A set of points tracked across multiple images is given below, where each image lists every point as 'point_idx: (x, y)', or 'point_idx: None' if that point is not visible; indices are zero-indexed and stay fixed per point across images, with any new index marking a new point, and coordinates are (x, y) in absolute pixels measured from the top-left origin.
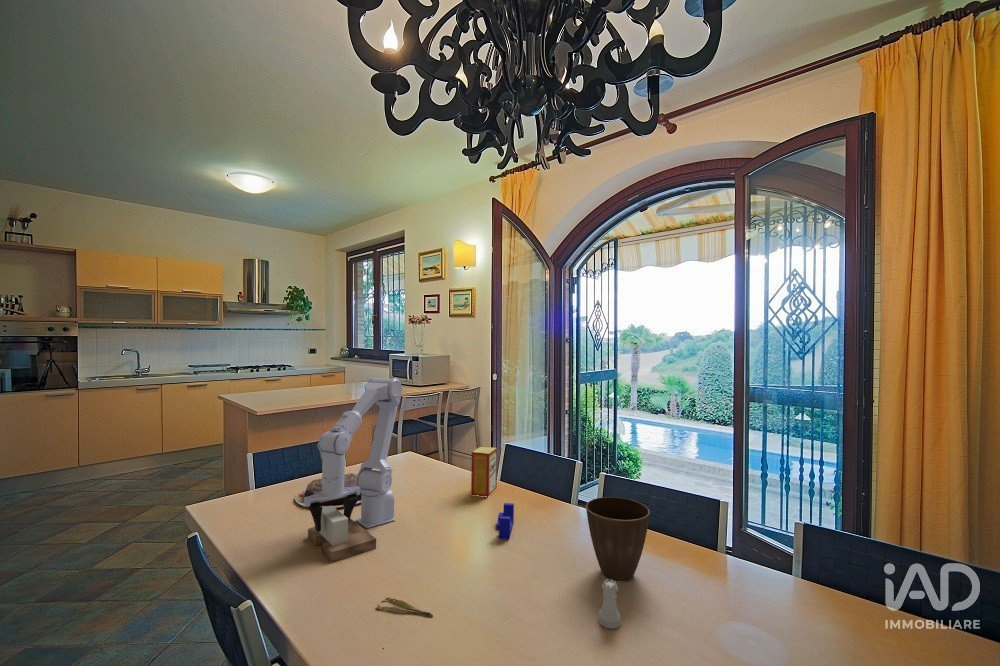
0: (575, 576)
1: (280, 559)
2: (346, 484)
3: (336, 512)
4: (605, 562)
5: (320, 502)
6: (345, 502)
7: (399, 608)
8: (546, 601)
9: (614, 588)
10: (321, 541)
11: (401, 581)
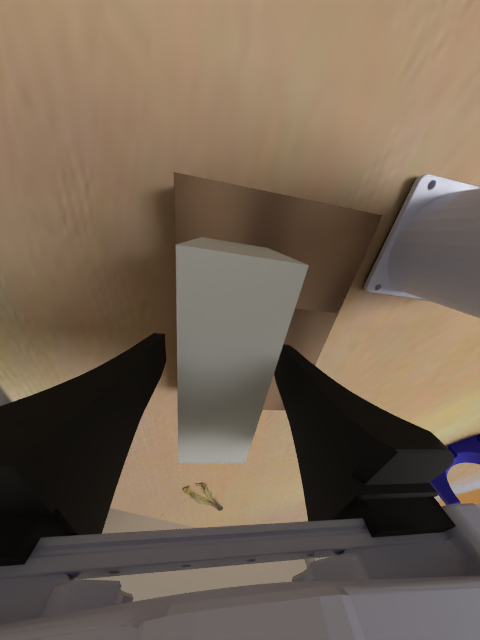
0: None
1: (61, 292)
2: None
3: (248, 394)
4: None
5: (72, 549)
6: (323, 443)
7: (200, 503)
8: (303, 521)
9: None
10: None
11: (240, 469)
